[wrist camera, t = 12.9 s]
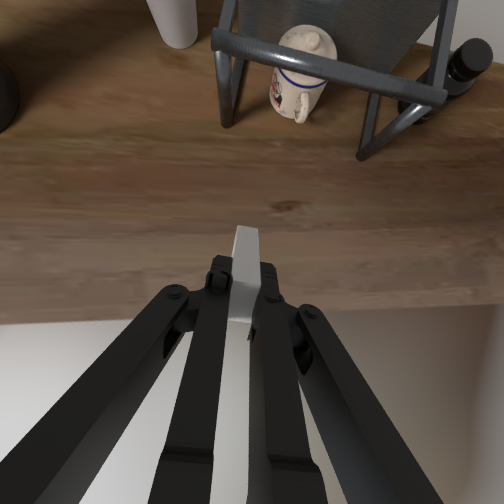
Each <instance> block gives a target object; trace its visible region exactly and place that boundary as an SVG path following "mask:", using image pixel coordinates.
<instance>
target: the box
mask: <svg viewBox="0 0 504 504" xmlns="http://www.w3.org/2000/svg"><path fill="white" fill-rule="evenodd" d="M237 3H238V33H234V32H231V30H232V25H233V21H234V16H235V12H236V7H237ZM457 5H458V0H224V3H223V8H222V12H221V16H220V21H219V25H218V28H215V27H213V30H212V35H211V50H212V51H214V58H215V68H216V78H217V88H218V98H219V108H220V118H221V125H222V126H223V127H224V128H230V127H231V126H232V117H233V112H234V108H235V103H236V98H237V94H238V89H239V85H240V80H241V76H242V71H243V67H244V62H245V60H249V61H253V62H257V63H261V64H264V65H268V66H272V67H276V68H280V69H283V70H287V71H291V72H295V73H299V74H302V75H306V76H310V77H314V78H318V79H321V80H325V81H329V82H333V83H337V84H340V85H344V86H348V87H352V88H355V89H359V90H363V91H367V92H369V97H368V102H367V108H366V113H365V118H364V123H363V128H362V133H361V139H360V144H359V149H358V152H357V153H356V158H357V160H359V161H364V160H366V159H367V158H368V157H369V156H371V155H372V154H373V153H375V152H376V151H377V150H379V149H380V148H381V147H382V146H384V145H385V144H386V143H388V142H389V141H390V140H392V139H393V138H394V137H396V136H397V135H398V134H399V133H401V132H402V131H403V130H405V129H406V128H407V127H409V126H410V125H411V124H413V123H414V122H415V121H416V120H418V119H419V118H420V117H422V116H423V115H424V114H426V113H427V112H428V111H429V110H431V109H438V108H439V107H440V106H441V105H442V104H443V103H444V101H445V100H446V97H447V94H448V91H447V90H445V89H443V83H444V78H445V72H446V67H447V61H448V55H449V50H450V44H451V39H452V33H453V27H454V22H455V16H456V11H457ZM438 15H439V18H438V23H437V29H436V34H435V40H434V45H433V50H432V56H431V61H430V67H429V72H428V78H427V83H426V84H423V83H419V82H416V81H412V80H408V79H404V78H401V77H397V76H393V75H390V72H391V71H392V70H393V69H394V68H395V66H396V65H397V64H398V63H399V62H400V60H401V59H402V58H403V57H404V56H405V54H406V53H407V52H408V51H409V50H410V48H411V47H412V46H413V45H414V44H415V42H416V41H417V40H418V39H419V38H420V36H421V35H422V34H423V32H425V30H426V29H427V28H428V27H429V26H430V24H431V23H432V22H433V21H434V20H435V18H436V17H437V16H438ZM299 25H313V26H316V27H318V28H321V29H322V30H324V31H325V32H326V33H327V34H328V35H329V36H330V37H331V39H332V40H333V42H334V44H335V47H336V51H337V60H334V59H330V58H327V57H323V56H319V55H315V54H312V53H308V52H304V51H301V50H297V49H293V48H290V47H286V46H282V45H278V43H279V41H280V40H281V38H282V37H283V35H284V34H285V33H286V32H287V31H289V30H290V29H292V28H293V27H296V26H299ZM231 56H234V57H236V59H235V63H234V68H233V72H232V67H231ZM379 95H382V96H386V97H390V98H393V99H397V100H401V101H405V102H409V103H412V104H411V105H410V106H409V107H408V108H407V109H406V110H405V111H403V112H402V113H401V114H400V115H399V116H398V117H397V118H396V119H394V120H393V121H392V122H391V123H390V124H389V125H388V126H386V127H385V128H384V129H383V130H382V131H381V132H380V133H378V134H377V135H376V136H375V137H374V138H373V139H372V140H371V137H372V132H373V126H374V121H375V116H376V111H377V105H378V100H379Z"/></svg>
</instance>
